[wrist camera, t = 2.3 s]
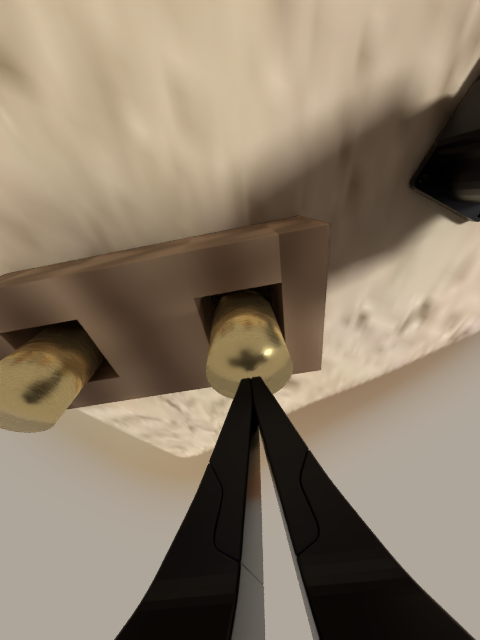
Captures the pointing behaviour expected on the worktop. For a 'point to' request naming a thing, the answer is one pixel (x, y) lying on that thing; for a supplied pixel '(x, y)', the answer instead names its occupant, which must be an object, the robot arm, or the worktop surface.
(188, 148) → the worktop surface
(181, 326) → the walnut block
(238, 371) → the peg
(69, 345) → the peg
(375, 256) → the worktop surface
